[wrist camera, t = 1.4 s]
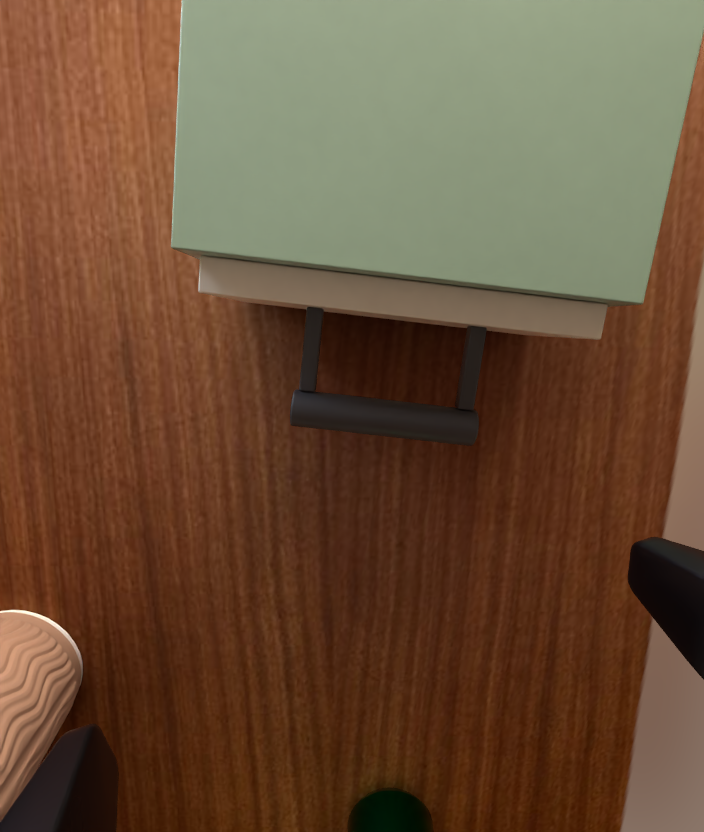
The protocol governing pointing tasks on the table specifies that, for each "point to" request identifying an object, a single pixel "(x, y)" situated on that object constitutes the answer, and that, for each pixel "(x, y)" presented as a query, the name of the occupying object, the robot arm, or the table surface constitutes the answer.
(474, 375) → the drawer
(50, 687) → the coffee cup
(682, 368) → the table surface
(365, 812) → the soda can
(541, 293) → the cabinet
